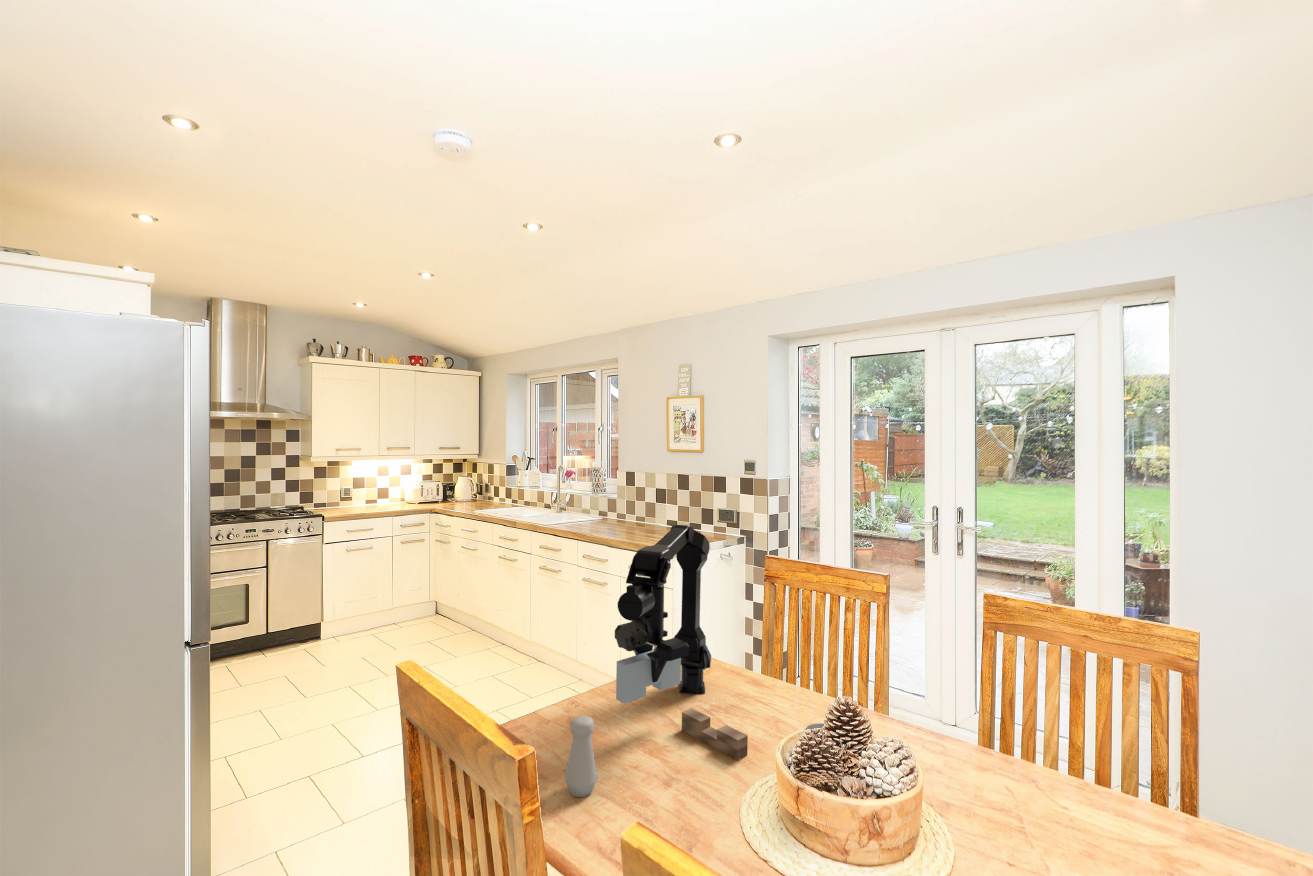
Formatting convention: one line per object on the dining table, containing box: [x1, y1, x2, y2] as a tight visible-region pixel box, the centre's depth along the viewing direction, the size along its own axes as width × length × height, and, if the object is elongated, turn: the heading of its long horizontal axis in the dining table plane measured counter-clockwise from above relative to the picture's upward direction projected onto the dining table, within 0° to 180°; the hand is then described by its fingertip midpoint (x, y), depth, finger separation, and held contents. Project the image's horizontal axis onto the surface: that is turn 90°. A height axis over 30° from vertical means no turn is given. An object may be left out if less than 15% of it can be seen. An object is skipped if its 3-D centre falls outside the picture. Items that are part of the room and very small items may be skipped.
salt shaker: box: [564, 715, 598, 798], centre depth 106 cm, size 6×6×13 cm
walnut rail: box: [681, 707, 749, 761], centre depth 123 cm, size 16×3×4 cm, turn 43°
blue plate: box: [615, 650, 681, 705], centre depth 127 cm, size 16×3×8 cm, turn 132°
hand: (649, 679), depth 127 cm, fingers closed on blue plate, 3 cm apart
